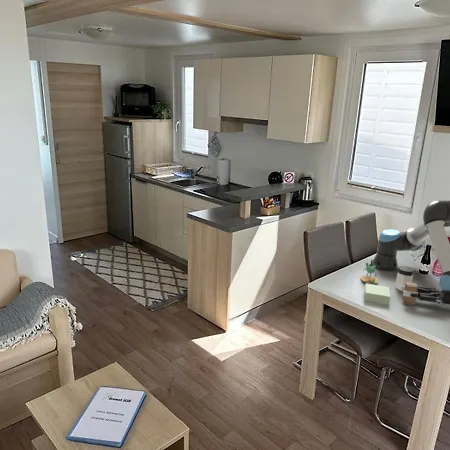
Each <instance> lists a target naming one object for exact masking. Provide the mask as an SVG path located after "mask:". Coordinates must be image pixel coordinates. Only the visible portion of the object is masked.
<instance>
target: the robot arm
mask: <svg viewBox="0 0 450 450" xmlns="http://www.w3.org/2000/svg"><path fill="white" fill-rule="evenodd" d="M423 211H424V212H423V217H422V219H423V222H422V223H420V224H418V226H416V227H411V228H409V229H408V230H406V231H401V232H400V230H398V229H392V228H391V229H389V228H387V229H384V230H381V231H380V233H379V236H378V243H377V248H376V254H375V255H374V258H373V259H372V260H373V262H372V265H373V264H374V265H375V264H377V265H376V267H375V269H378V270H382V271H386V272H392V271H393V272H394V271H398V268H399V265H398V258H397V255H398V252H416V251H420V250H421V249H422V248H423V247H424V245H425V240H427V238H429V237H430V241H431V243H432V247H433V249H434V252H435V256H436V258H437V262H438V265H439V268H440V271H441V276H440V278H439V281H438V282H439V287H441V289H442V290H437V289H436V287H430V286H423V285H422V286H421V285H417V287H418V289H417V292H412V291H405V290H404V288H405V286H402V288H401V291H400V292H403V293H402V297H403V296H408V297H416V299H418V300H419V301H421V302H422V301H424V302H430V303H432V302H433V303H437V304H441V303H442V304H444V305H450V241H449V237H448V234H447V231H446V229H445V228H449V227H450V200H440V199H437V200H434V201H432V202H430V203H428V204H427V206H426V207H425V208H424V210H423ZM374 265H373V266H374Z"/></svg>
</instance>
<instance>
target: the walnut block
mask: <svg viewBox="0 0 450 450" xmlns="http://www.w3.org/2000/svg"><path fill="white" fill-rule="evenodd" d="M417 286H418V285H417V283H414V282H412V283H408V282H406V283H405V288H404V290H405V291H412V292H417V289H418V287H417ZM416 299H417V298H416V297H408V296H403V295H402V301H403V302H402V303H403V305H411V306H415V303H416Z"/></svg>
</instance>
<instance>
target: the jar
mask: <svg viewBox="0 0 450 450" xmlns="http://www.w3.org/2000/svg"><path fill="white" fill-rule="evenodd" d="M414 274H415V269H414V268H413V267H412V266H406V265H399V266H398V267H397V274H396V279H395V284H394V289H396V290H399V291H400V292H402V291H401V288H402V286H405V283H406V282H408V283H413V279H414Z"/></svg>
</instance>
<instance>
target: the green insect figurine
mask: <svg viewBox="0 0 450 450" xmlns="http://www.w3.org/2000/svg"><path fill="white" fill-rule="evenodd" d="M372 262H373V259H371V260H370V263H369V262H366V263H365V268H364V269H362V270H363V272H364V271H366V272H367V273H366V275H363V276H361V277H359V278H360V280H361V281H362V282H364V283H365V284H373V285H376V284H379V283H378V282H379V281H378V280H379V279H378V278H376V277H377V271H376V268H375V267H376V265H377V264H375V265H374V264H373V265H374V266H373V265H372ZM374 273H375V274H374ZM372 274H374V276H375V277H374V276H372Z"/></svg>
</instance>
